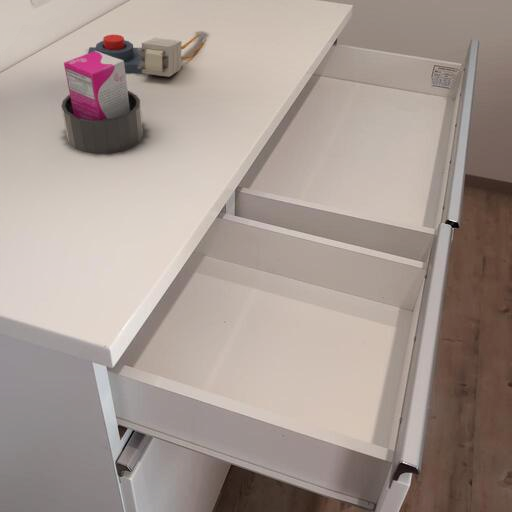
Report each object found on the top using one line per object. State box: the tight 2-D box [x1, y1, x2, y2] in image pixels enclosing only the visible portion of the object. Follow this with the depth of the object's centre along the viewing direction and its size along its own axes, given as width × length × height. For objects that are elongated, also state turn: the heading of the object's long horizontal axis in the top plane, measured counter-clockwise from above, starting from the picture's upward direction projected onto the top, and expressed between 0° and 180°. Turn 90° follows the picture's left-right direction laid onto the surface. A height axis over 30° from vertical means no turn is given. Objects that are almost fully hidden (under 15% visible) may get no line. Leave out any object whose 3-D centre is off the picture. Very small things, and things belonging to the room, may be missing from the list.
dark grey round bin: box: [61, 90, 144, 155], centre depth 78 cm, size 11×11×6 cm
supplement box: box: [63, 51, 130, 120], centre depth 76 cm, size 6×6×12 cm
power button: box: [102, 34, 125, 50], centre depth 98 cm, size 4×4×2 cm
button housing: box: [87, 39, 143, 74], centre depth 100 cm, size 10×8×4 cm
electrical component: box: [136, 31, 207, 78], centre depth 103 cm, size 24×6×5 cm, turn 168°
